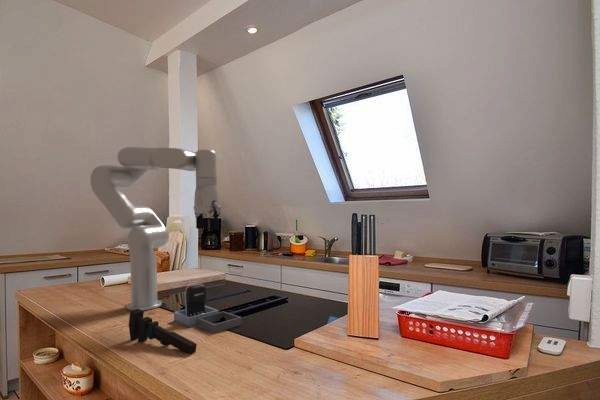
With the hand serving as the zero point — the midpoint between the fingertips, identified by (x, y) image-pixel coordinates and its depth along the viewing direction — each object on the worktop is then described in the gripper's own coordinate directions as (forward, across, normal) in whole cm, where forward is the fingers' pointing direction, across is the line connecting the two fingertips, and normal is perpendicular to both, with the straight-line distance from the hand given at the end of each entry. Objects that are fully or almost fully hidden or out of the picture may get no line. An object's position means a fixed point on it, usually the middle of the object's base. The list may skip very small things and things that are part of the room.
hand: (207, 228), depth 138 cm
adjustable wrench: (+31, +20, -27) cm, 46 cm away
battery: (+30, +7, -9) cm, 32 cm away
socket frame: (+30, +18, -7) cm, 36 cm away
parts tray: (+30, +7, -9) cm, 32 cm away
